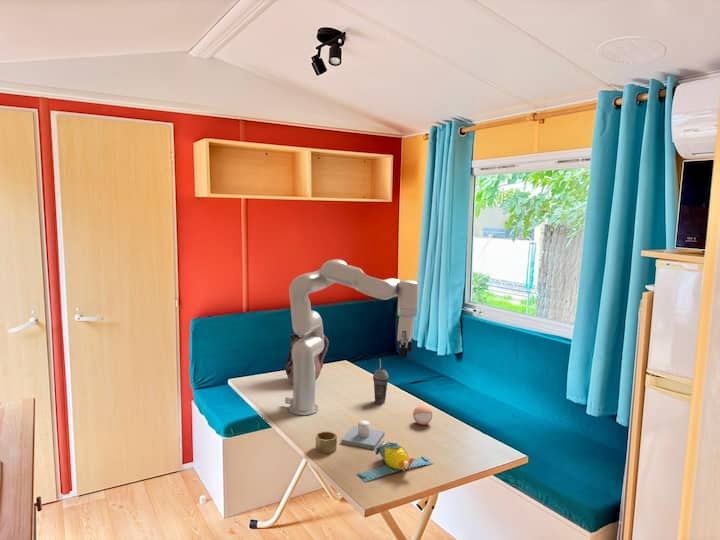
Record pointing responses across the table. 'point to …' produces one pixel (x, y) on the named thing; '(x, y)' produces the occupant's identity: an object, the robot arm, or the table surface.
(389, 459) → the toy parrot figure
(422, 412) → the toy ball
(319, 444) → the ring
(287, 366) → the ceramic pitcher
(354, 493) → the table surface
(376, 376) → the beverage cup
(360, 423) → the block
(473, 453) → the table surface
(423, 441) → the table surface
